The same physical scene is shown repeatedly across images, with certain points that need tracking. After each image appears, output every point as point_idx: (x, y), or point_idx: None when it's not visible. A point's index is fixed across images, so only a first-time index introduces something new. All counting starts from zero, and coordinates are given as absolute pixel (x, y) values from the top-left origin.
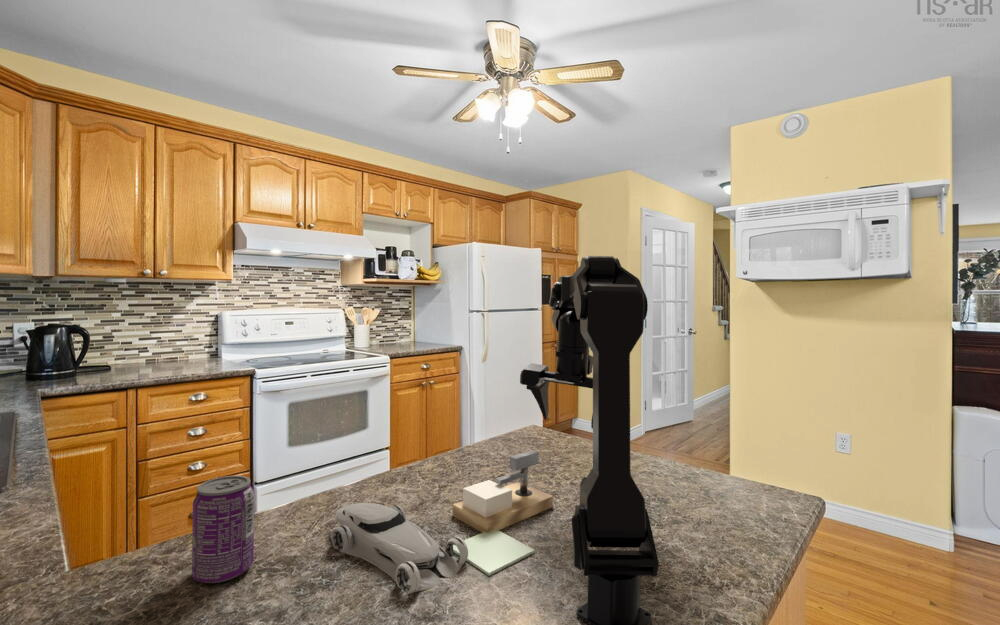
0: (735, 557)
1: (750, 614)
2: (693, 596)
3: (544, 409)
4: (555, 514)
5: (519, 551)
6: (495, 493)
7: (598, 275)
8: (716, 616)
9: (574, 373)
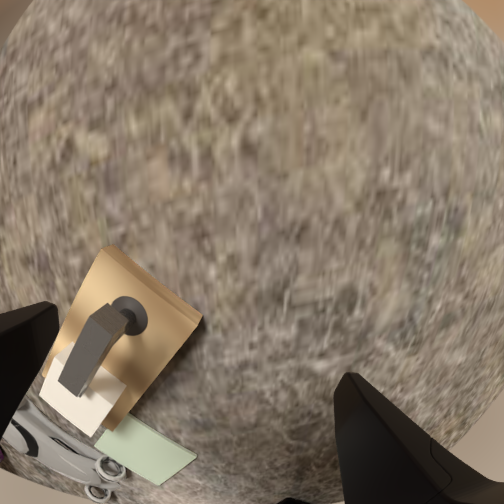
0: (467, 399)
1: None
2: None
3: (23, 395)
4: (212, 347)
5: (177, 459)
6: (92, 418)
7: None
8: None
9: None
